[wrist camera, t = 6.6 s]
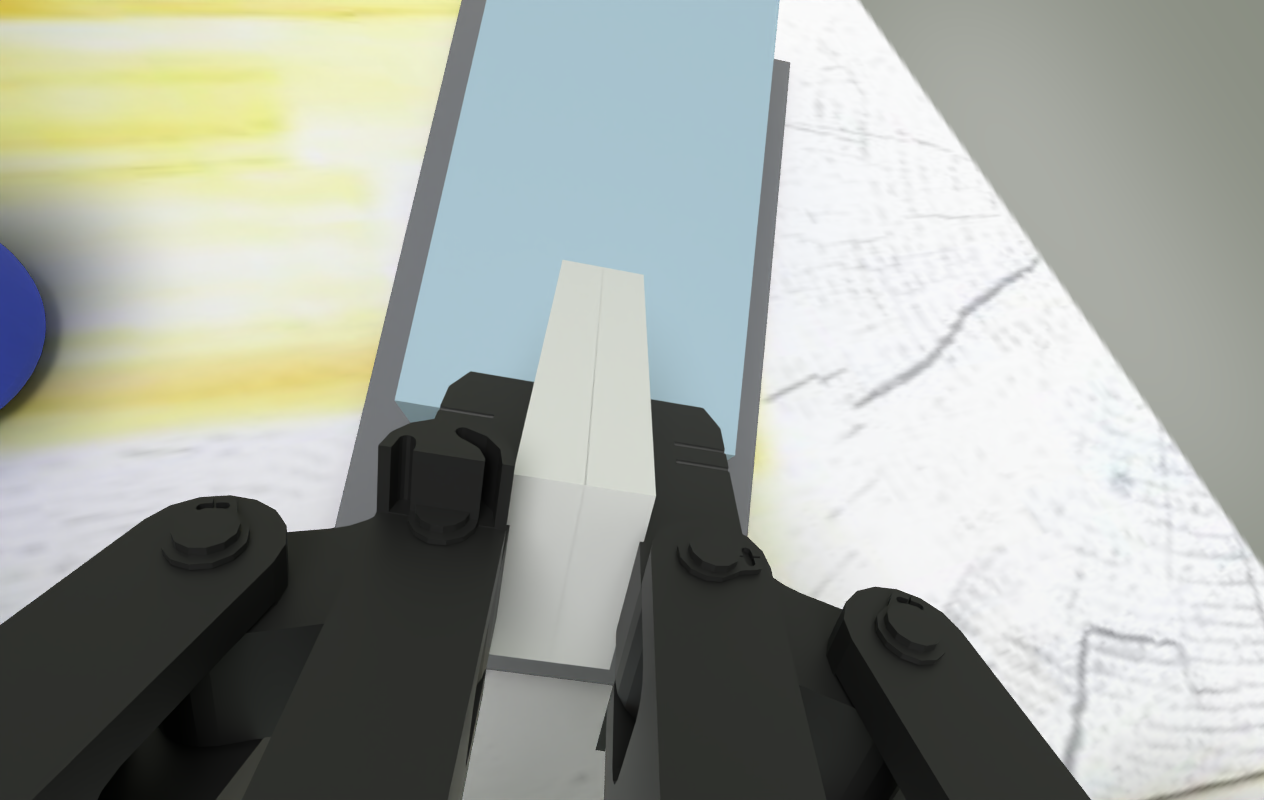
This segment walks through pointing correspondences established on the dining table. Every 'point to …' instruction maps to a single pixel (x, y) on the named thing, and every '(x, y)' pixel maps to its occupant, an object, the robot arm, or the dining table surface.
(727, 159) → the block
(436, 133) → the mat
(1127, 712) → the dining table surface
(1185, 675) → the dining table surface
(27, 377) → the mug
